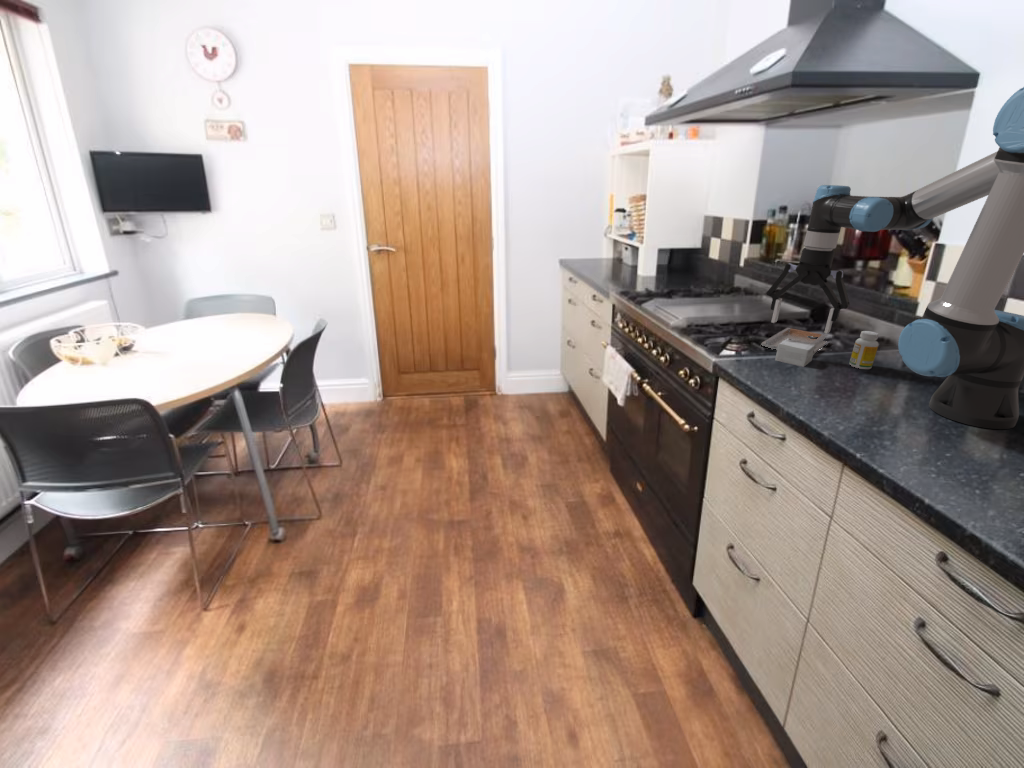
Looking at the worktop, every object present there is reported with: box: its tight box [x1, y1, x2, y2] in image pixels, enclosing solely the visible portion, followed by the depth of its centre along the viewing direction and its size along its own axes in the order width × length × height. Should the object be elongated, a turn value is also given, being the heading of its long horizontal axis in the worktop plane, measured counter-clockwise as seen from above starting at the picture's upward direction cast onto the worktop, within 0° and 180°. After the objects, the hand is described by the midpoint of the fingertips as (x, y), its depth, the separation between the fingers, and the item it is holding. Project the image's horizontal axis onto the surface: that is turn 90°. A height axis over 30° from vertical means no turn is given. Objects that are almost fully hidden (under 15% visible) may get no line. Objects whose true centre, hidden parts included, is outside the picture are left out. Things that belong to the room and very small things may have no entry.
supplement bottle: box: [848, 330, 879, 370], centre depth 146 cm, size 5×5×10 cm
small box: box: [774, 339, 816, 368], centre depth 150 cm, size 8×8×5 cm
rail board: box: [760, 327, 827, 356], centre depth 164 cm, size 20×14×2 cm
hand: (799, 327), depth 148 cm, fingers open, 13 cm apart
